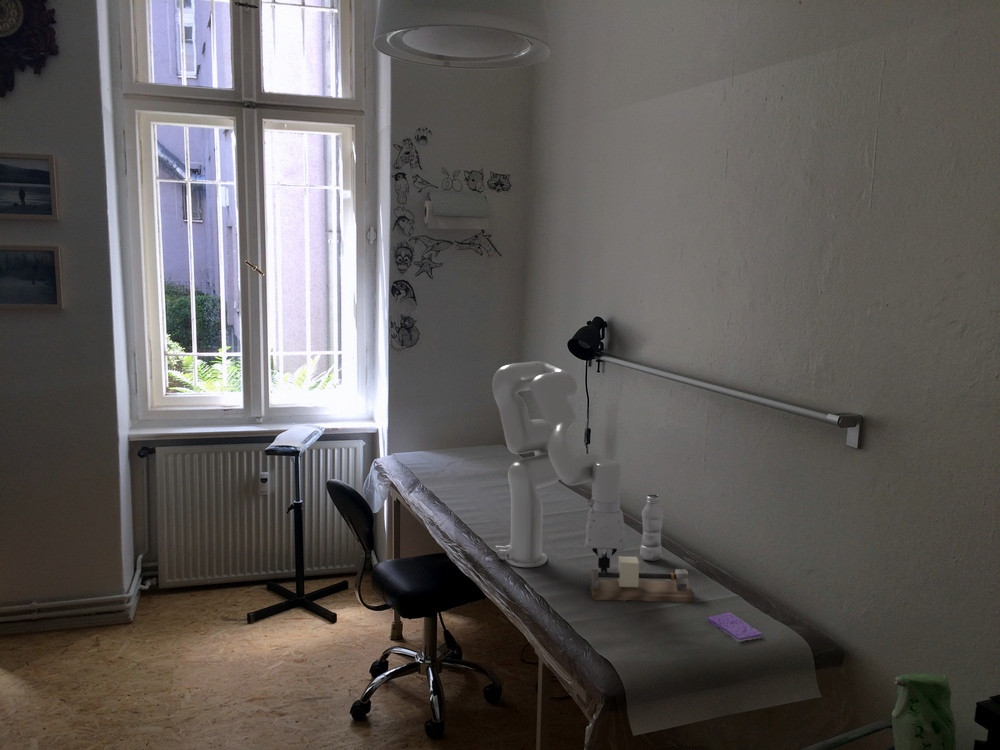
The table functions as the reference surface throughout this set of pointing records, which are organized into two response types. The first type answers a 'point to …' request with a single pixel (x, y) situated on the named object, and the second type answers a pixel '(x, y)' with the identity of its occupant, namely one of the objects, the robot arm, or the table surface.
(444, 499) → the table surface
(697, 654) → the table surface
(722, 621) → the sponges
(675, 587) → the wooden linear slide
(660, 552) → the plastic bottle
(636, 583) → the cream foam block
